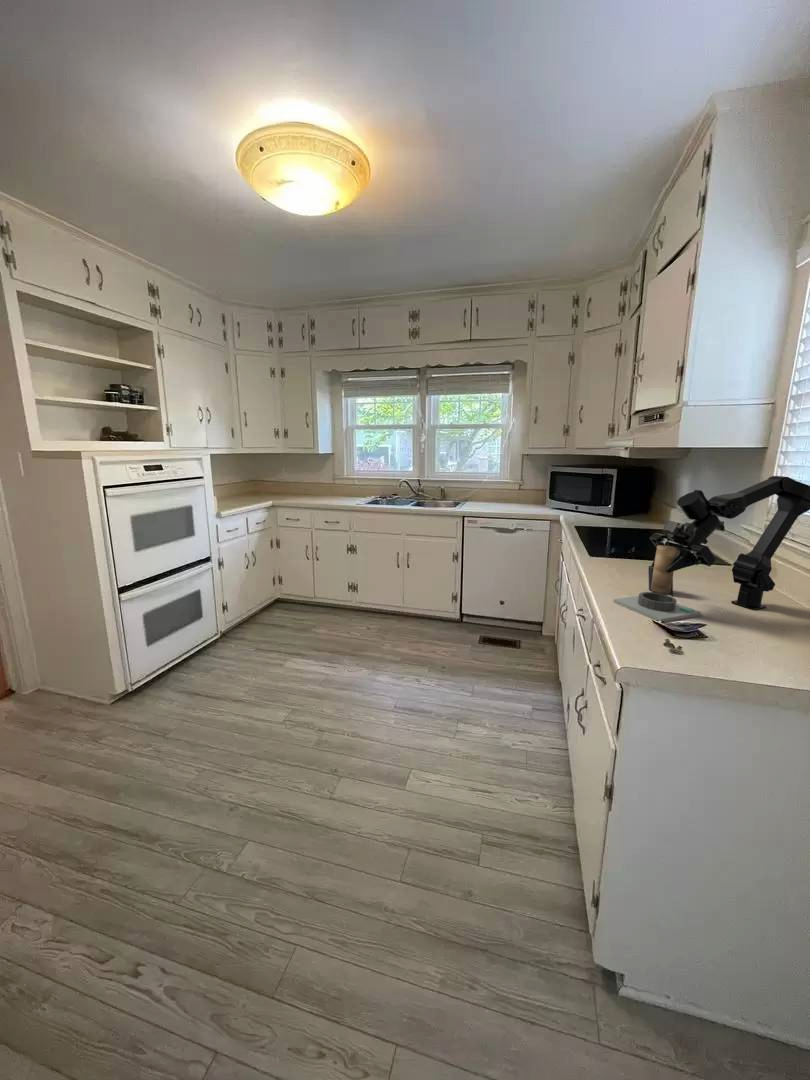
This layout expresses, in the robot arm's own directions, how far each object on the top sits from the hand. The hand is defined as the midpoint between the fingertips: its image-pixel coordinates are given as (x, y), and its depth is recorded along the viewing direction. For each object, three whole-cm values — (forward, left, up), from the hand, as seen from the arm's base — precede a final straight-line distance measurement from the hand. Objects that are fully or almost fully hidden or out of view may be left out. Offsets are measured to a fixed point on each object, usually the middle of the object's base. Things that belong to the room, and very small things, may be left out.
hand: (659, 569), depth 123 cm
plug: (-1, 0, -7) cm, 7 cm away
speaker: (-16, -11, -13) cm, 24 cm away
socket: (-1, 0, -12) cm, 13 cm away
